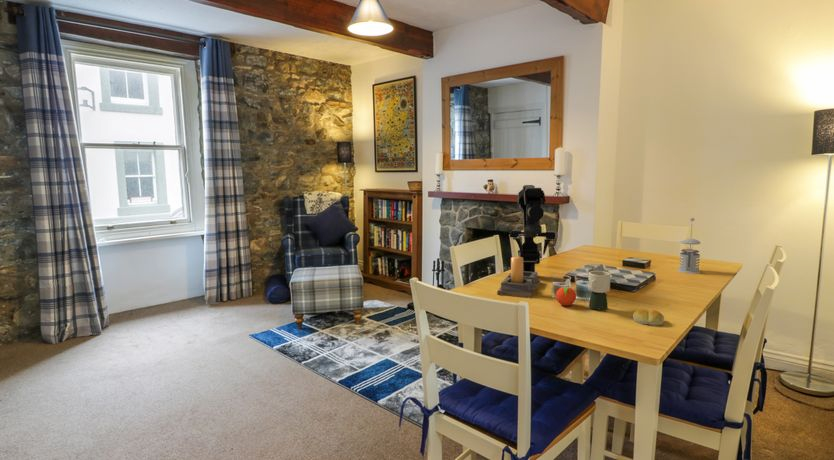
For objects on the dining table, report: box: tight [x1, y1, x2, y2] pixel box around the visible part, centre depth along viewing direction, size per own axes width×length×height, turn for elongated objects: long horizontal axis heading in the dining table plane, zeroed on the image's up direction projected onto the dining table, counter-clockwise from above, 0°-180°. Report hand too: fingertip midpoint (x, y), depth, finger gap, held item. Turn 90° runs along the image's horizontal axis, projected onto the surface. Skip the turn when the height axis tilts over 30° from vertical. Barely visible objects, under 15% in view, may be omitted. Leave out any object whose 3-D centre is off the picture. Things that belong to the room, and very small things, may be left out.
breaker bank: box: [496, 271, 541, 299], centre depth 193 cm, size 25×13×6 cm, turn 157°
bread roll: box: [632, 308, 665, 327], centre depth 150 cm, size 8×9×4 cm
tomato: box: [555, 285, 577, 307], centre depth 168 cm, size 8×7×7 cm
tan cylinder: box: [510, 256, 523, 284], centre depth 186 cm, size 5×5×12 cm
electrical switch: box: [587, 263, 605, 275], centre depth 192 cm, size 9×5×9 cm, turn 141°
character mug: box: [587, 270, 611, 311], centre depth 163 cm, size 11×7×13 cm, turn 134°
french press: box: [676, 217, 702, 275], centre depth 213 cm, size 10×12×25 cm
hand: (532, 254), depth 196 cm, fingers open, 9 cm apart
